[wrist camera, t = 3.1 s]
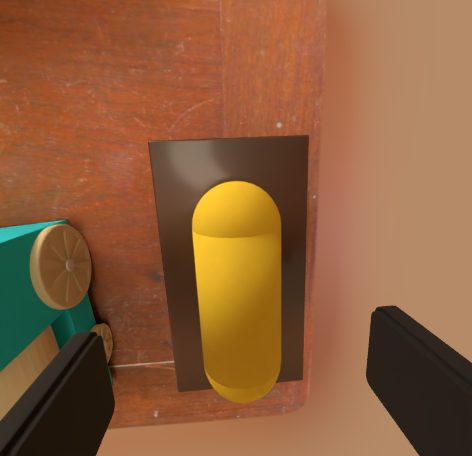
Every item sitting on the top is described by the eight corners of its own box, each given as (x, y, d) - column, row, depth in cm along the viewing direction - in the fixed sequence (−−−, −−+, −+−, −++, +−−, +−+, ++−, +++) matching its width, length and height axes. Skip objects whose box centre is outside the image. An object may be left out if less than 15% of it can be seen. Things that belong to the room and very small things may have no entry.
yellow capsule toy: (192, 180, 13) (182, 186, 9) (270, 176, 13) (293, 181, 9) (207, 363, 15) (204, 429, 12) (272, 357, 16) (290, 419, 12)
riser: (176, 151, 21) (147, 140, 12) (271, 147, 21) (309, 134, 13) (191, 312, 25) (177, 393, 16) (273, 306, 25) (303, 380, 16)
